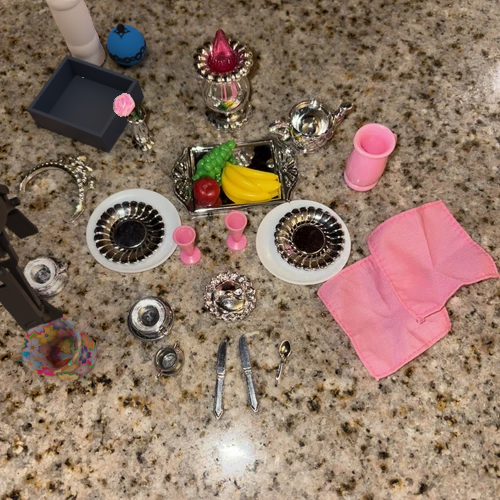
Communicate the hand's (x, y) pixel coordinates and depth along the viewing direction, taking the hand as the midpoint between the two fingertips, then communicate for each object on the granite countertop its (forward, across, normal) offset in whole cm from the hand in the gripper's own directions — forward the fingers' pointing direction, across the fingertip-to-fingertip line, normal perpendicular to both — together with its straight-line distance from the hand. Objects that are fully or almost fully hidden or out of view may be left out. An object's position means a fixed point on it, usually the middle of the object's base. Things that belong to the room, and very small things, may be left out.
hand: (40, 274), depth 69 cm
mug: (+23, -6, +6) cm, 24 cm away
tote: (+22, +44, -13) cm, 51 cm away
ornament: (+23, +54, -25) cm, 64 cm away
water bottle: (+23, +58, -17) cm, 64 cm away
